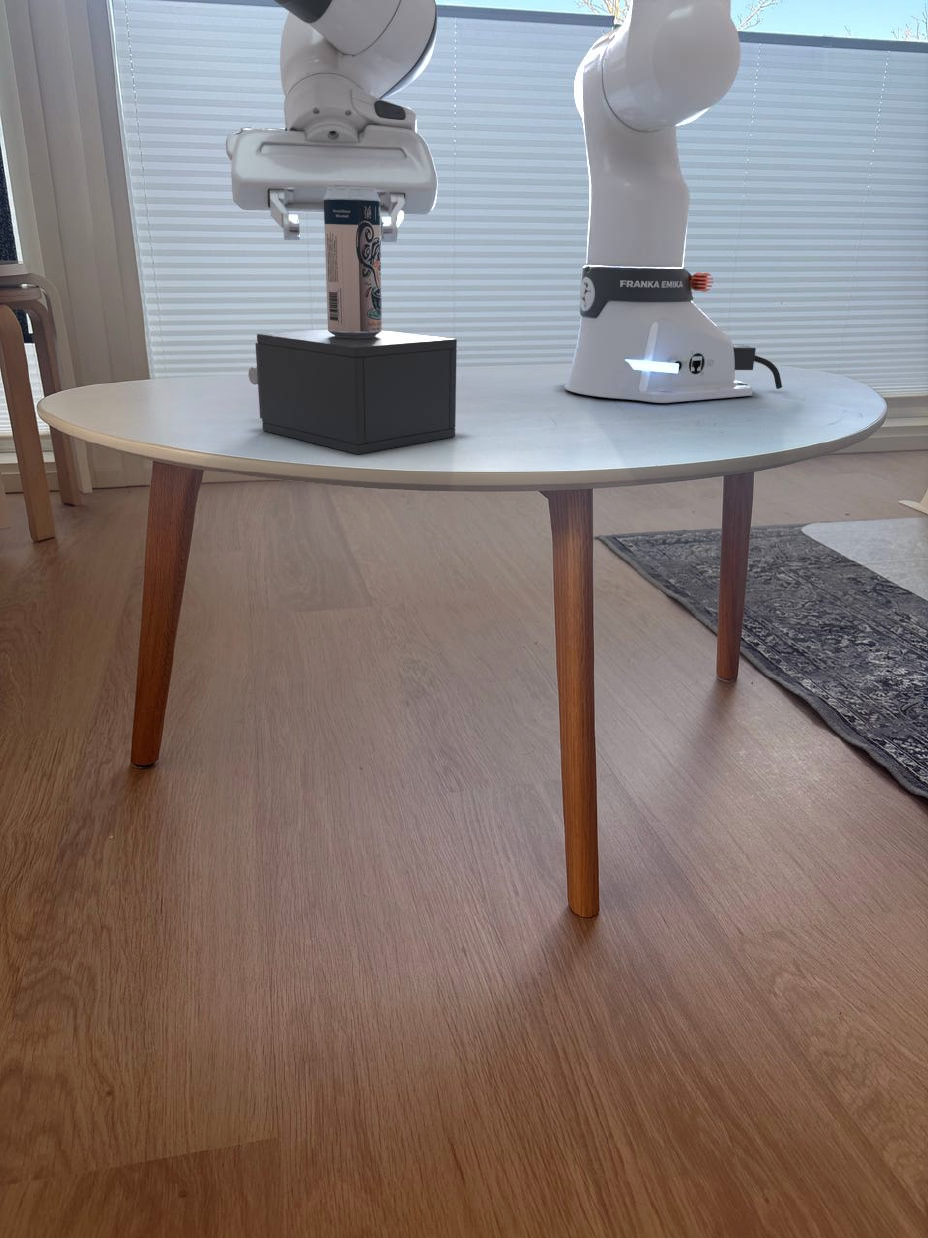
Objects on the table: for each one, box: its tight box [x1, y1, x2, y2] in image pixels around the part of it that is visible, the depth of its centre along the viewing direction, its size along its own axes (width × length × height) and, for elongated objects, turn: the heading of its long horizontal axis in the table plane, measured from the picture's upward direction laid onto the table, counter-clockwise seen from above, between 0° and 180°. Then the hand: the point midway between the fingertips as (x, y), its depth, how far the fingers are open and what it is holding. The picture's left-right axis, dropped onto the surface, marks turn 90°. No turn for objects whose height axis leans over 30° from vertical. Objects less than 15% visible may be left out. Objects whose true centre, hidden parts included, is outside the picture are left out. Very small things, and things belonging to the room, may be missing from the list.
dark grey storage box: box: [256, 328, 458, 455], centre depth 84 cm, size 14×12×9 cm
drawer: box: [247, 342, 262, 420], centre depth 86 cm, size 16×10×7 cm, turn 46°
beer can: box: [323, 185, 383, 338], centre depth 80 cm, size 5×5×12 cm
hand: (341, 236), depth 90 cm, fingers open, 8 cm apart
